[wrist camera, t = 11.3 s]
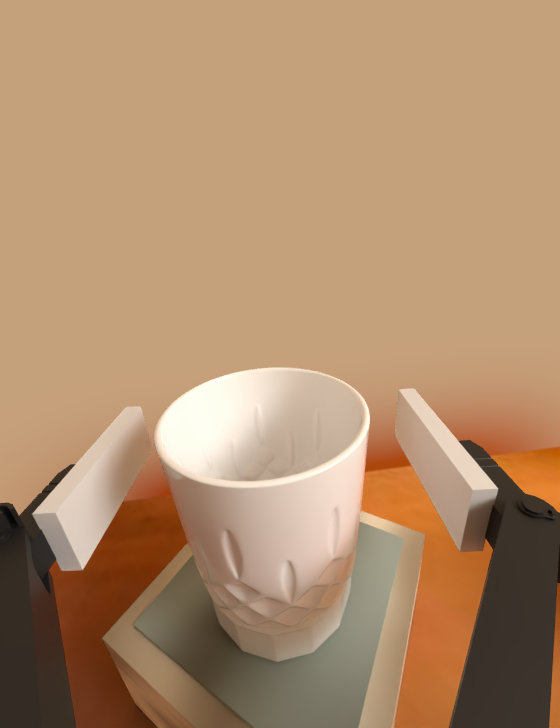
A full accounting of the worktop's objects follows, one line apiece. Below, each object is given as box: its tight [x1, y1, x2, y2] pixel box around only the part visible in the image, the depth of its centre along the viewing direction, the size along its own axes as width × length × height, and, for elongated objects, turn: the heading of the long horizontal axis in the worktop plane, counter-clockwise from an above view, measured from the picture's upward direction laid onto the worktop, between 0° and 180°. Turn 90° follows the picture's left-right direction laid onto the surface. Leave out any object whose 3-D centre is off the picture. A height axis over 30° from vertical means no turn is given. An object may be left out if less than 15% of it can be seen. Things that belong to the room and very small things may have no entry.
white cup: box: [154, 368, 370, 662], centre depth 14 cm, size 8×8×10 cm
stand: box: [102, 511, 425, 728], centre depth 17 cm, size 12×12×6 cm
